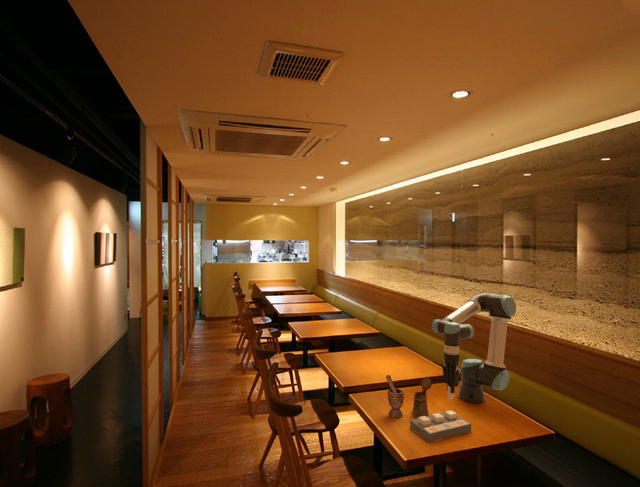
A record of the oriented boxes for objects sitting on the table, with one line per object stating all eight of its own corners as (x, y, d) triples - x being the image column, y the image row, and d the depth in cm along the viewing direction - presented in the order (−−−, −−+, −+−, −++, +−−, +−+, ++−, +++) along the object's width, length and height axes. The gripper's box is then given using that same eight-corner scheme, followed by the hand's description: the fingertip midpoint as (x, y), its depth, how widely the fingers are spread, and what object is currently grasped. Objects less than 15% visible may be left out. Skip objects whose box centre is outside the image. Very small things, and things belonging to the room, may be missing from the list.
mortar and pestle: (379, 413, 207) (380, 377, 207) (387, 408, 214) (387, 373, 213) (399, 419, 200) (399, 382, 200) (406, 414, 206) (406, 377, 206)
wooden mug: (435, 411, 210) (436, 379, 210) (423, 419, 200) (423, 385, 200) (421, 406, 216) (422, 375, 216) (408, 413, 207) (409, 381, 207)
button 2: (450, 417, 197) (451, 410, 197) (456, 421, 193) (456, 413, 193) (444, 419, 196) (445, 411, 196) (450, 422, 192) (450, 414, 192)
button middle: (438, 420, 194) (438, 413, 194) (443, 424, 190) (443, 416, 190) (431, 422, 192) (432, 414, 192) (437, 425, 189) (437, 417, 188)
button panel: (449, 418, 201) (449, 411, 201) (471, 432, 188) (471, 423, 188) (409, 427, 191) (410, 419, 191) (429, 442, 177) (429, 433, 177)
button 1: (424, 423, 190) (424, 415, 190) (430, 427, 187) (430, 419, 187) (418, 425, 189) (418, 417, 189) (423, 428, 185) (423, 420, 185)
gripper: (437, 350, 199) (436, 394, 199) (455, 357, 187) (454, 404, 187) (448, 348, 202) (447, 392, 202) (466, 355, 190) (465, 402, 190)
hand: (450, 398), depth 194 cm, fingers closed
